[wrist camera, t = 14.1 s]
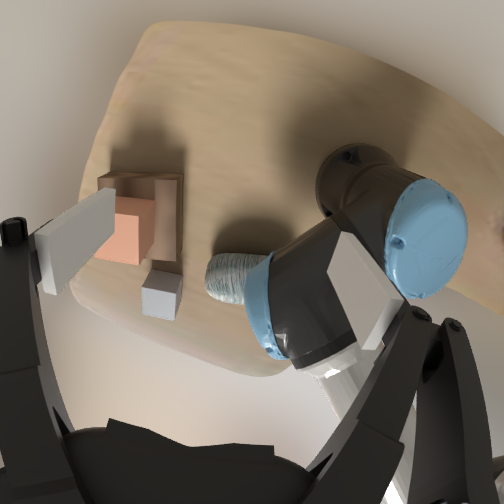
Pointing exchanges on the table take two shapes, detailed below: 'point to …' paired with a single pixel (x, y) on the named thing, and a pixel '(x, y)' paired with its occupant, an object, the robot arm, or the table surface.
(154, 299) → the grey cube
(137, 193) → the walnut block
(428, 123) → the table surface
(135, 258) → the terracotta cube
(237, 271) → the yarn skein
